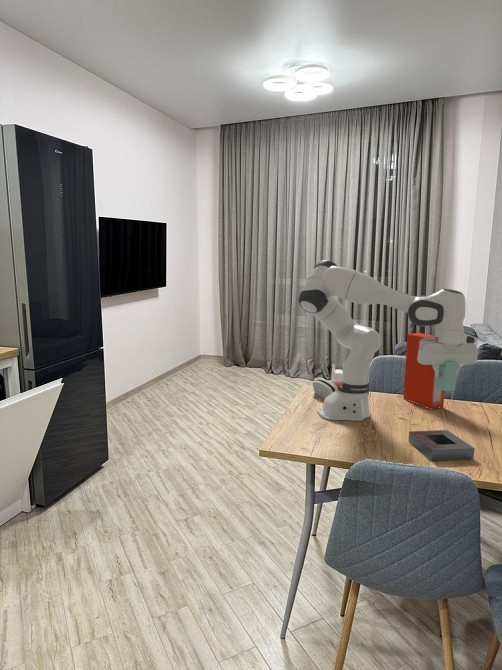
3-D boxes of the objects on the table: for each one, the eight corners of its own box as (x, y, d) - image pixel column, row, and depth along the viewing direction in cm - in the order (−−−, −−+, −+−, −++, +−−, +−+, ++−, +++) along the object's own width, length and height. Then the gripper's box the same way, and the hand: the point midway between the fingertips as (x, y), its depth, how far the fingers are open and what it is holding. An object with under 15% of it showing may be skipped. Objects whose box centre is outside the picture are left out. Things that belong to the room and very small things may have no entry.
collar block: (431, 461, 156) (432, 449, 156) (408, 441, 173) (409, 431, 172) (473, 459, 158) (474, 448, 158) (446, 440, 175) (447, 430, 174)
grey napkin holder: (343, 401, 221) (338, 382, 218) (335, 405, 220) (330, 387, 217) (322, 392, 236) (317, 374, 233) (315, 396, 234) (310, 378, 231)
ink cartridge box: (343, 396, 229) (344, 367, 226) (332, 396, 229) (334, 367, 227) (340, 391, 237) (341, 363, 235) (330, 391, 237) (331, 363, 235)
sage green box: (443, 390, 159) (446, 362, 157) (434, 386, 165) (436, 358, 163) (454, 390, 159) (457, 361, 158) (445, 385, 165) (447, 358, 164)
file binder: (429, 409, 211) (435, 339, 206) (403, 399, 226) (407, 333, 221) (443, 407, 214) (449, 338, 209) (415, 397, 230) (420, 332, 224)
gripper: (424, 338, 155) (421, 379, 157) (482, 338, 157) (478, 378, 160) (415, 335, 161) (412, 374, 163) (470, 335, 163) (467, 373, 166)
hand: (445, 376), depth 161 cm, fingers closed on sage green box, 4 cm apart
